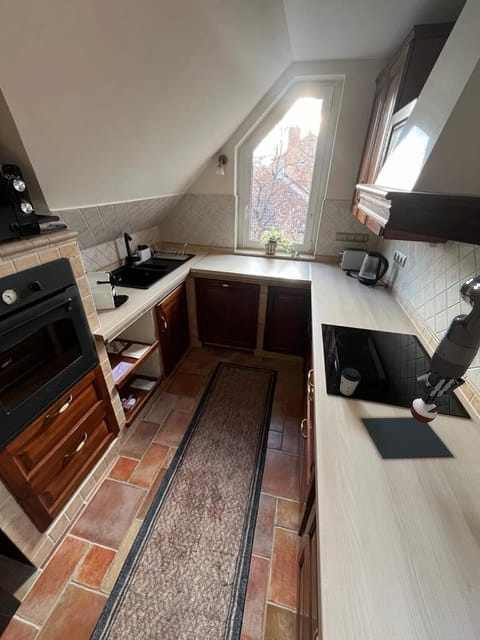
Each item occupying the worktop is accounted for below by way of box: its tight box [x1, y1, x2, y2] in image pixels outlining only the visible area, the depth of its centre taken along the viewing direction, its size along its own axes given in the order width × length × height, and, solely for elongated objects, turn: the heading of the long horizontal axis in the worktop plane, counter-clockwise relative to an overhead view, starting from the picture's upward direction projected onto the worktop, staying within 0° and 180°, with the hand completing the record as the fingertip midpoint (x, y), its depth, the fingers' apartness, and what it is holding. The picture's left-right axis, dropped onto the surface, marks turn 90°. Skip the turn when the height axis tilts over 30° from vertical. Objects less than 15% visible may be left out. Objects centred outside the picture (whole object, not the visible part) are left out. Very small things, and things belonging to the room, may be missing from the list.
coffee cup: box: [339, 367, 362, 396], centre depth 97 cm, size 7×7×10 cm
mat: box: [361, 417, 454, 459], centre depth 82 cm, size 22×14×1 cm, turn 92°
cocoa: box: [410, 398, 451, 423], centre depth 73 cm, size 10×6×12 cm, turn 151°
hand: (427, 402), depth 73 cm, fingers closed on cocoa, 1 cm apart
